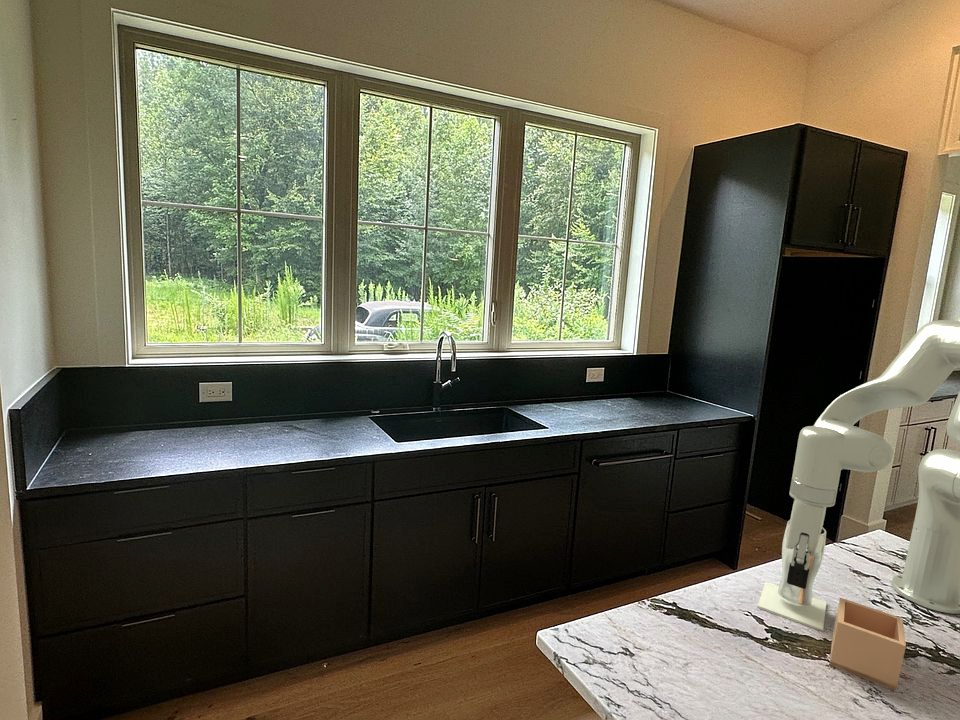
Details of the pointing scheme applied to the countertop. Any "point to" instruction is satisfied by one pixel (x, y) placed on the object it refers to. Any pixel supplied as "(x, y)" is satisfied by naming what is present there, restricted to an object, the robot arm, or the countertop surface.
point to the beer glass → (805, 595)
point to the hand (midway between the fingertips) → (798, 577)
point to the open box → (868, 643)
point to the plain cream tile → (792, 608)
